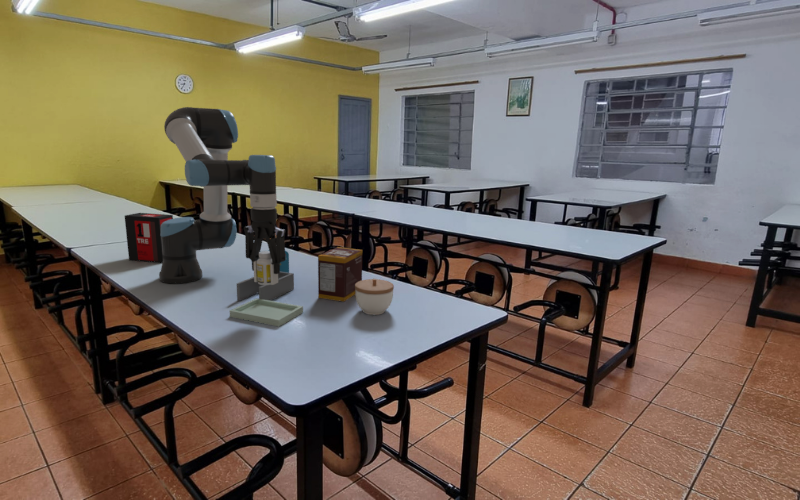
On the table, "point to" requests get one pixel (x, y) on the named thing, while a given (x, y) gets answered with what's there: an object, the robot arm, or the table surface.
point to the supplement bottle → (264, 268)
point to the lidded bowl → (374, 295)
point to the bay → (266, 287)
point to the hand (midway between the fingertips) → (266, 282)
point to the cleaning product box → (145, 236)
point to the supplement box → (339, 273)
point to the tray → (266, 312)
